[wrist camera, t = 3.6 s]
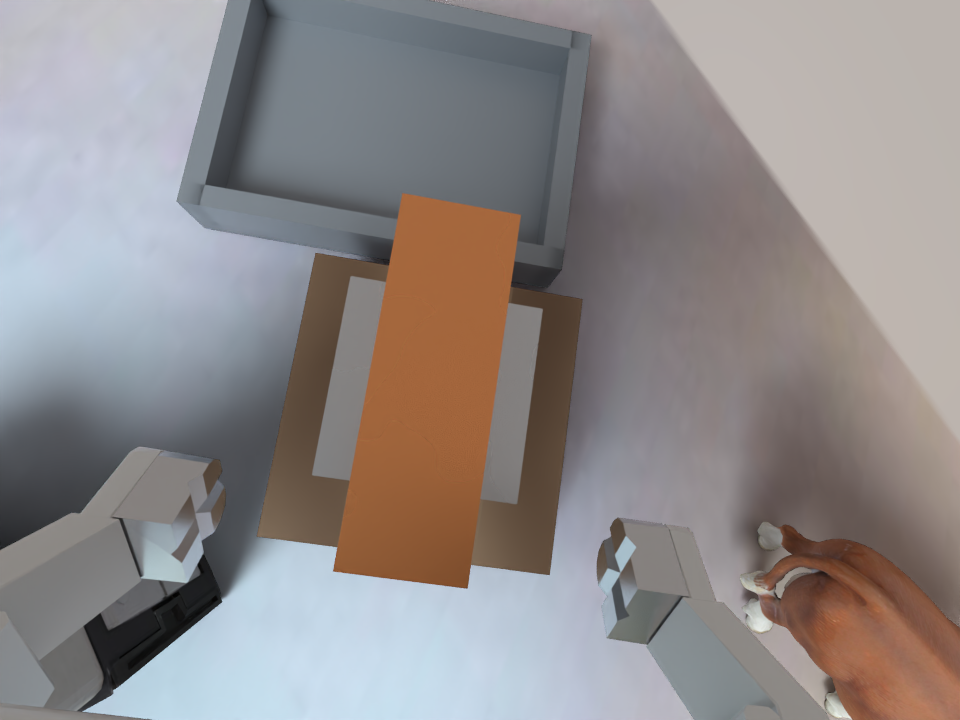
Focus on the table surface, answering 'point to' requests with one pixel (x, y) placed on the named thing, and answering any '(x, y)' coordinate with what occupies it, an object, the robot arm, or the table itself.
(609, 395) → the table surface
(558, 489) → the hitch block
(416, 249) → the orange-topped grey block
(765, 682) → the robot arm
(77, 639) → the camera
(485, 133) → the tray
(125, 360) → the table surface
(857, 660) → the bull figurine
